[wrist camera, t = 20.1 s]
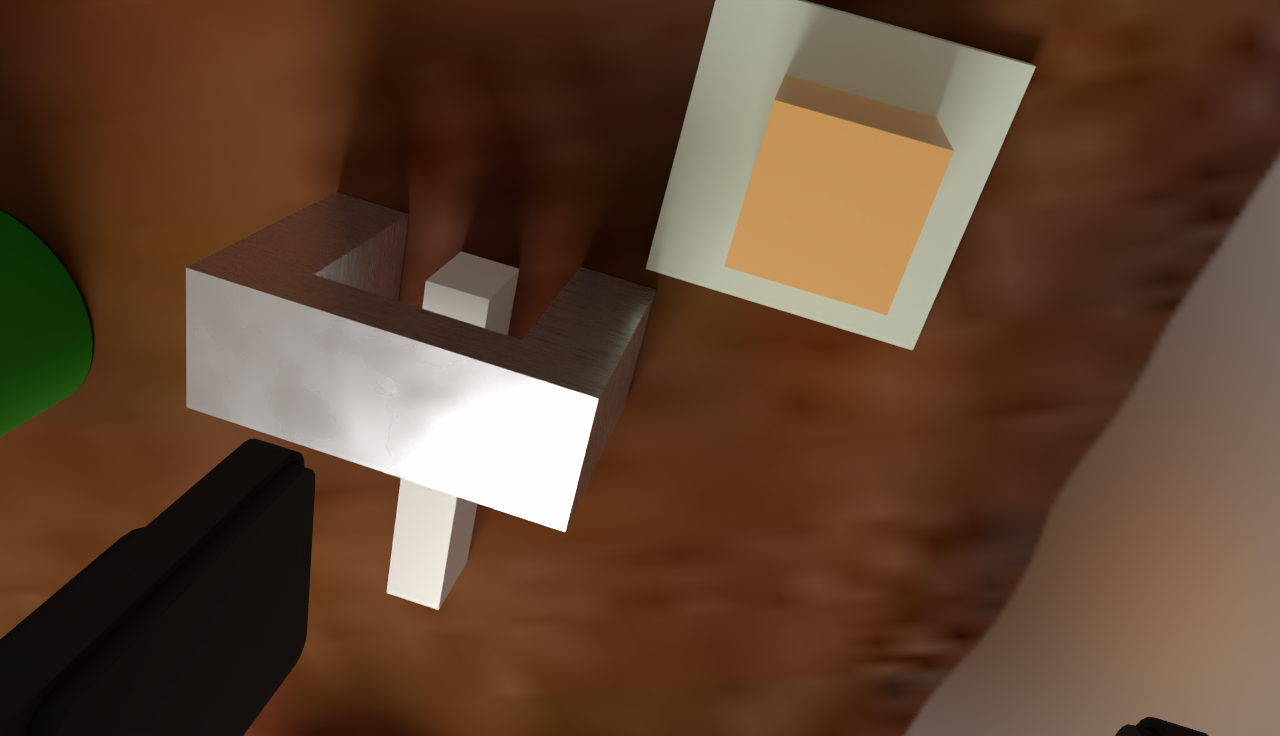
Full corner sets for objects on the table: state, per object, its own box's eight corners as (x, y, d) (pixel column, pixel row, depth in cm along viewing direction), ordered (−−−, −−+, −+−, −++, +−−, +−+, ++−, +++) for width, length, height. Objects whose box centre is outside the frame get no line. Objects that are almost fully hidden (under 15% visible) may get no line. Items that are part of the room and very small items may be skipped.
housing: (336, 191, 35) (186, 267, 27) (656, 289, 34) (598, 398, 26) (327, 306, 37) (186, 407, 29) (626, 400, 36) (565, 531, 28)
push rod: (463, 249, 35) (425, 280, 32) (521, 266, 35) (489, 299, 32) (420, 542, 42) (386, 592, 39) (469, 558, 42) (438, 609, 38)
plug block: (784, 74, 29) (774, 99, 24) (936, 117, 28) (953, 150, 24) (740, 219, 31) (724, 266, 27) (880, 260, 31) (887, 315, 26)
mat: (723, -23, 29) (720, -21, 28) (1030, 63, 28) (1035, 66, 27) (649, 261, 33) (645, 268, 32) (911, 341, 32) (912, 350, 32)
